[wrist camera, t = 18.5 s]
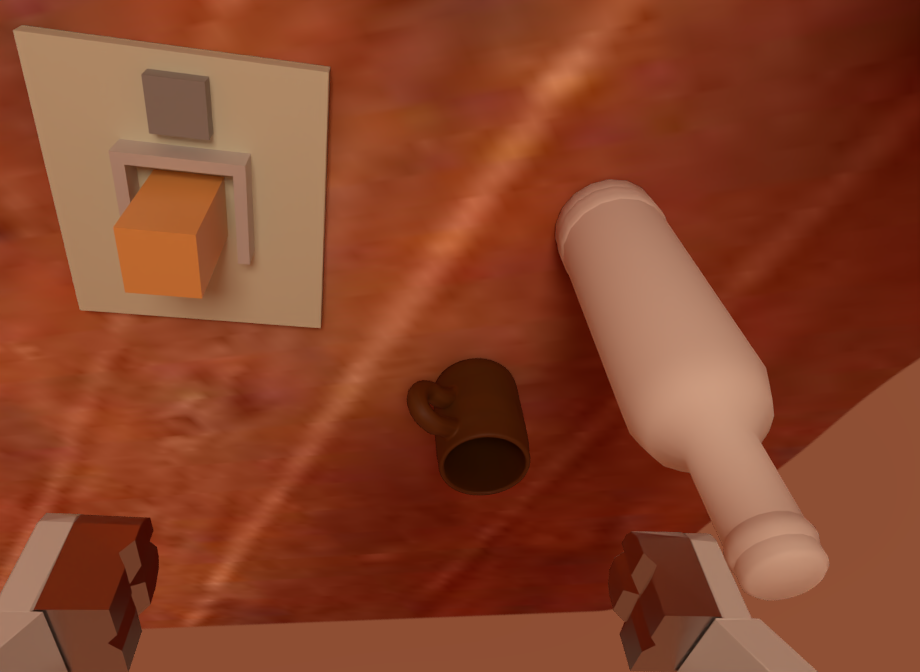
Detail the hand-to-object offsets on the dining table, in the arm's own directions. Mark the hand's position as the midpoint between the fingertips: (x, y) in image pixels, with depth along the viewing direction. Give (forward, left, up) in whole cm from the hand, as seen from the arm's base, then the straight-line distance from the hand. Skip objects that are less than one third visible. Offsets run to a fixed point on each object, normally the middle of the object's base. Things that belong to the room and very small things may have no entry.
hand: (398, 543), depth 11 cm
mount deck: (+13, -13, -37) cm, 41 cm away
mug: (+28, +8, -37) cm, 47 cm away
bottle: (+12, +17, -37) cm, 43 cm away
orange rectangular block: (+13, -13, -36) cm, 40 cm away
